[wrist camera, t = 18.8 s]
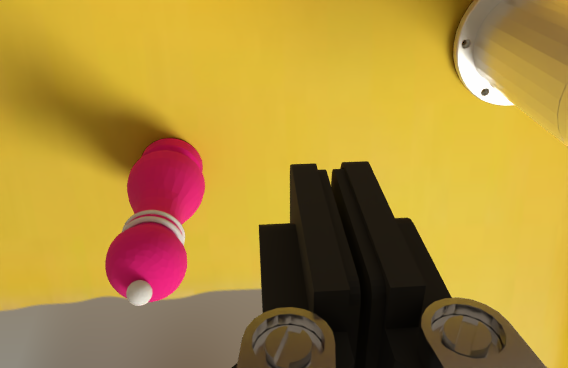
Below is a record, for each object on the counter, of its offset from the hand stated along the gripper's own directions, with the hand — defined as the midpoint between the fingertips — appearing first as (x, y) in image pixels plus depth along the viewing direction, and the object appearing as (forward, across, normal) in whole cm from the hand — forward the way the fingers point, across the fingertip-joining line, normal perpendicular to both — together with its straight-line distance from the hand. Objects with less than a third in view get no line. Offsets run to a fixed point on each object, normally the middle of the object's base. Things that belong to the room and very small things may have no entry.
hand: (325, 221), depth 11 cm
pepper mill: (+37, +10, +18) cm, 43 cm away
